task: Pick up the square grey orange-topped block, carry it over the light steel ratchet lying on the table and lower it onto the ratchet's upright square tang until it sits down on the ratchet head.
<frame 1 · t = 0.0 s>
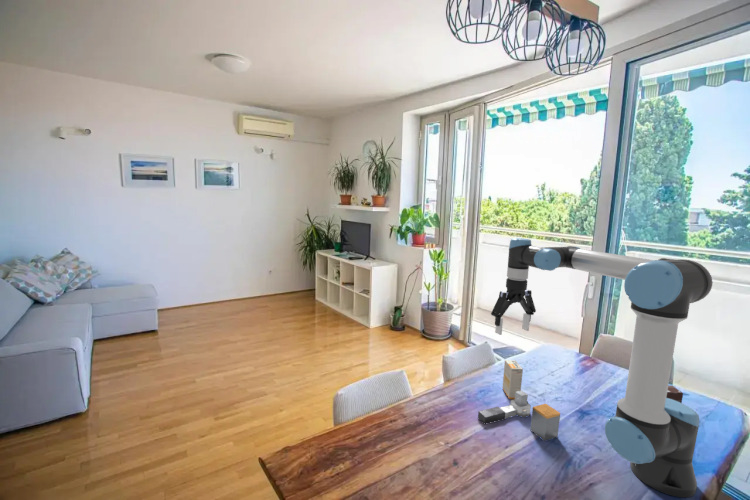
hand: (512, 331, 142), 28 cm above the table, fingers open, 13 cm apart
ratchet: (519, 411, 137), on the table
supplement box: (510, 394, 149), on the table
grey orange-topped block: (543, 433, 124), on the table
box: (667, 406, 144), on the table
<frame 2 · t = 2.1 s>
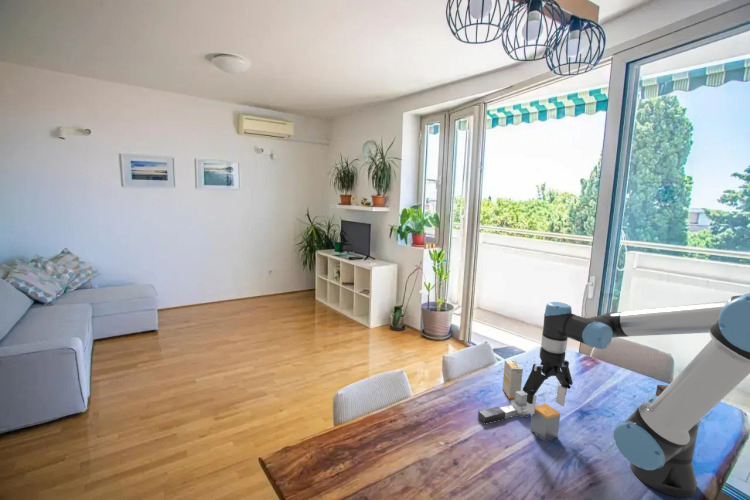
hand: (545, 407, 123), 9 cm above the table, fingers open, 13 cm apart
nothing on the table moved.
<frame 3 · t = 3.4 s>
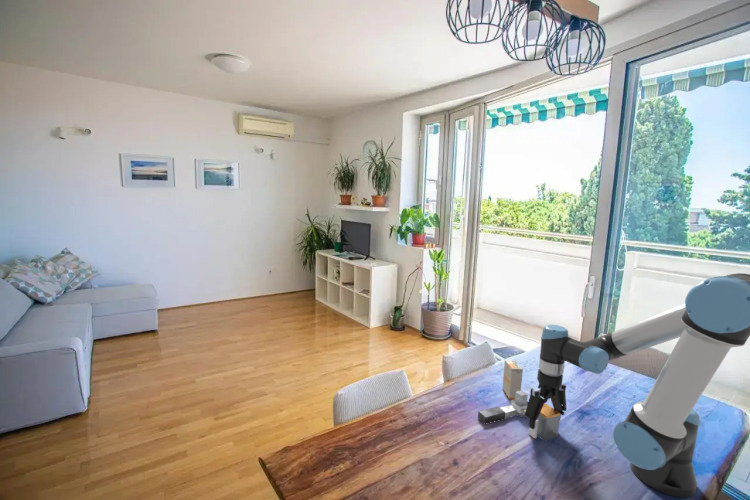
hand: (543, 432, 124), 0 cm above the table, fingers open, 9 cm apart
nothing on the table moved.
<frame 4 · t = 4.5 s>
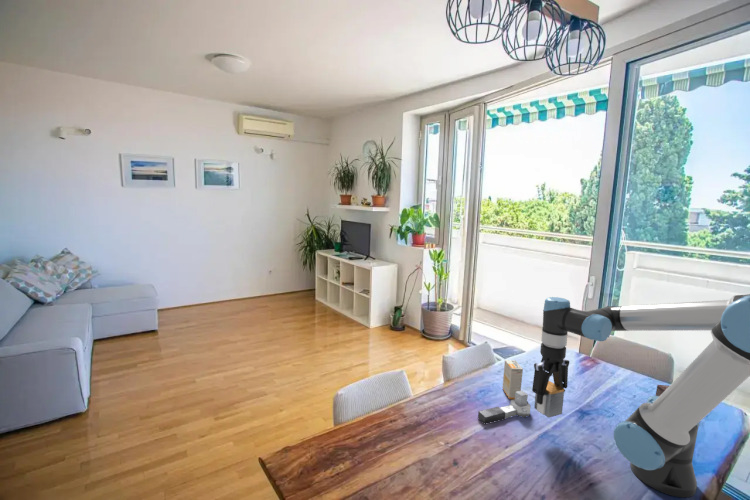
hand: (548, 410, 122), 9 cm above the table, fingers closed on grey orange-topped block, 6 cm apart
grey orange-topped block: (548, 411, 122), point 9 cm above the table, touching gripper
everything else where it was.
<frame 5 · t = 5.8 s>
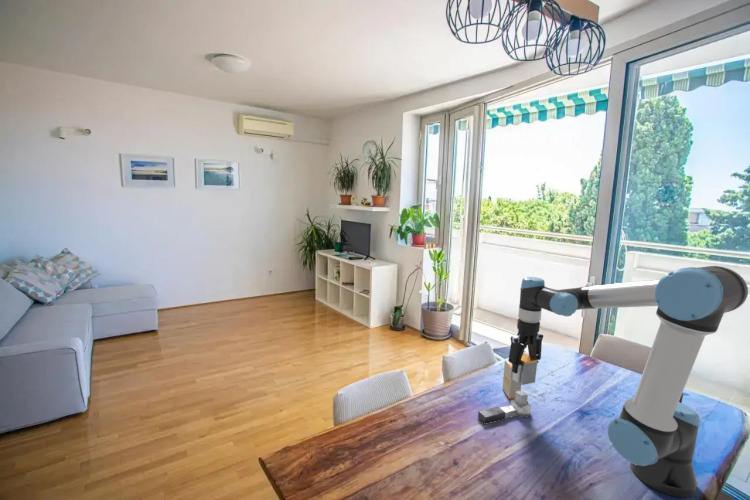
hand: (522, 379, 135), 13 cm above the table, fingers closed on grey orange-topped block, 6 cm apart
grey orange-topped block: (522, 379, 135), point 13 cm above the table, touching gripper
everything else where it was.
when the fingers open (4 cm above the table, at t = 7.3 s): grey orange-topped block stays where it is, resting on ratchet.
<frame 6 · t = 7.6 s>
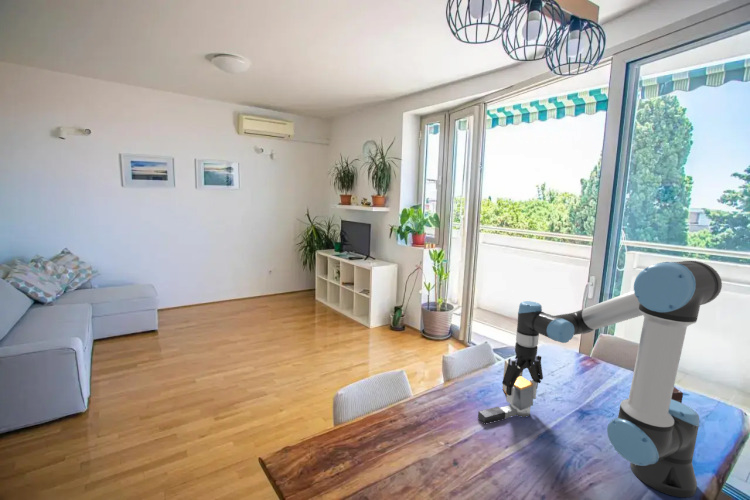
hand: (521, 399, 136), 5 cm above the table, fingers open, 10 cm apart
grey orange-topped block: (520, 403, 136), point 3 cm above the table, tilted 7°, touching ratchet
everything else where it was.
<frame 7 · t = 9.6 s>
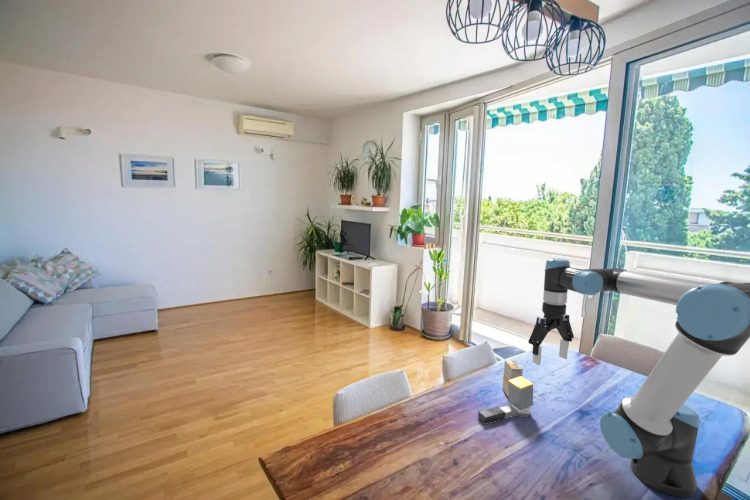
hand: (549, 360, 130), 22 cm above the table, fingers open, 13 cm apart
nothing on the table moved.
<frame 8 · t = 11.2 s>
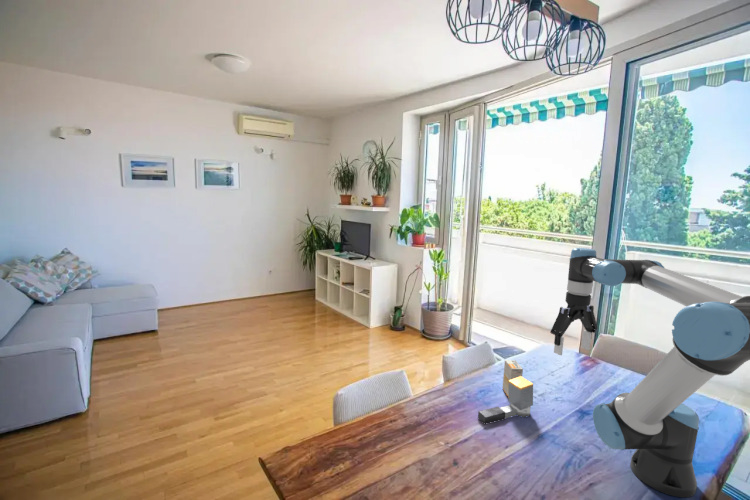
hand: (571, 351, 128), 27 cm above the table, fingers open, 13 cm apart
nothing on the table moved.
at the end: grey orange-topped block 0.0 cm off-centre on the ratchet, point 3.4 cm above the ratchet's base; grey orange-topped block tilted 7°; the gripper is holding nothing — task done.
